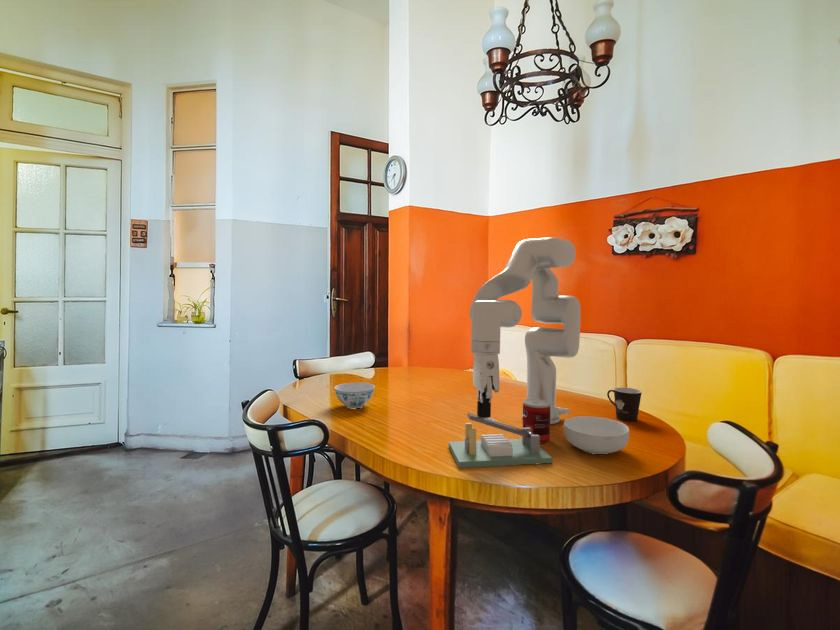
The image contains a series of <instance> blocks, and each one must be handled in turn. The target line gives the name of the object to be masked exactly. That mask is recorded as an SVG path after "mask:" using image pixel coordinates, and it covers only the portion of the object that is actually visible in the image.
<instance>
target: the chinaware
mask: <svg viewBox="0 0 840 630" xmlns="http://www.w3.org/2000/svg"><path fill="white" fill-rule="evenodd" d="M375 388H376V386H375V385H374V384H372V383H369V382H345V383H340V384H337V385H336V386H334V392H335V395H336V397H337V399H338V401H339V402H340V403H342V405H344V406H345V408H346V407H348V408H360V409H362V408H361V407H363V406H364V407H365V405H366V404H367V403H368V402H370V400H371V399H372V397H373V395H374V393H375ZM364 407H363V408H364ZM348 408H347V409H348Z"/></svg>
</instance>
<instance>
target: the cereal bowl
mask: <svg viewBox="0 0 840 630" xmlns="http://www.w3.org/2000/svg"><path fill="white" fill-rule="evenodd" d="M563 431H564V436H565V437H566V439H567V441H568V442H569V443H570V444H571V445H573V446H574V447H576V448H578V449H579V450H581V449H582V450H581V451H583V450H584V451H586V452H585V453H587V452H589V453H588V454H590V453H594V454H593V455H595V454H607V455H609V454H608V453H610V454H612V453H615V452H618V451H621V450H623V449H624V448H625V447H626V446H627V445H628V443H629V439H630V428H629V426H628V425H627V424H625V423H623V422H621V421H618V420H615V419H612V418H607V417H600V416H599V417H598V416H589V415H588V416H586V415H585V416H584V415H583V416H579V415H578V416H573V417H569V418H567V419H565V420H564V422H563ZM584 451H583V452H584Z"/></svg>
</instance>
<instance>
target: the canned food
mask: <svg viewBox="0 0 840 630" xmlns="http://www.w3.org/2000/svg"><path fill="white" fill-rule="evenodd" d="M522 413H523V419H522V429H523V428H526V427H530V428H531V432H532V433H533V434H534V435H537V434H538V435H539V436H540V440H539V442H545V443H547V442H546V441H548V440H550V438H551V424H550V403H549V402H548V401H545V400H540V399H527V398H526V399H523V402H522ZM548 442H549V441H548Z"/></svg>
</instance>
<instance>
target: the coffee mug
mask: <svg viewBox="0 0 840 630" xmlns="http://www.w3.org/2000/svg"><path fill="white" fill-rule="evenodd" d="M611 392H612V393H613V394H614V401H613V400H612V399H611V397H610V393H611ZM606 396H607V398H608V400H609V401H610V403H611V404H612V405H613V406H614V407H615V417H616V420H619V421H623V422H627V421H628V422H629V423H633V422H637V421H638V418H639V417H638V416H639V410H640V406H641V400H642V399H641V398H642V390H640V389H638V388H632V387H614V388H613V389H609V390H608V391H607V393H606Z"/></svg>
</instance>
